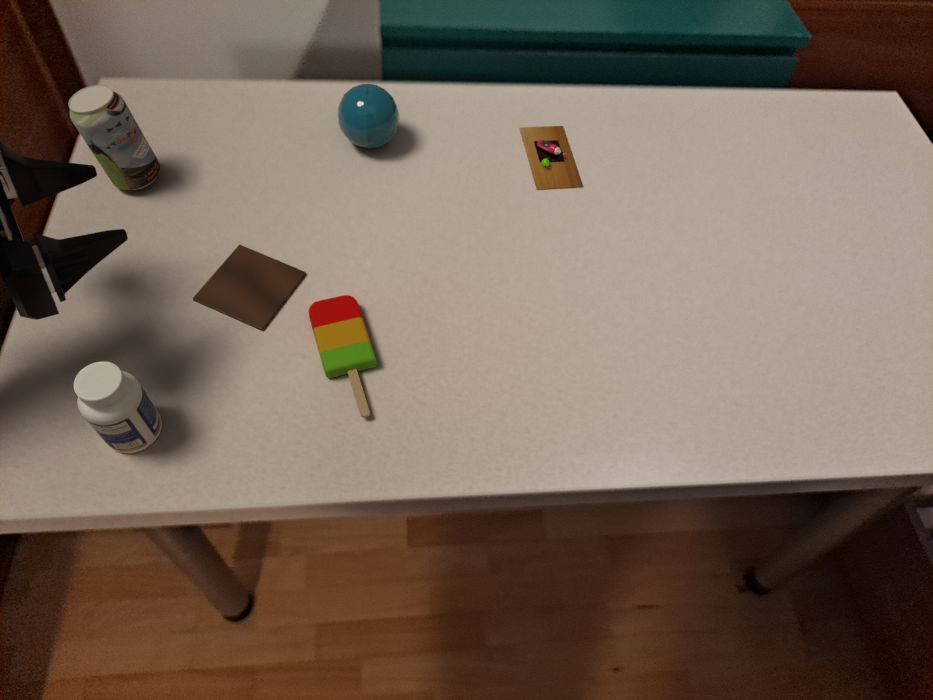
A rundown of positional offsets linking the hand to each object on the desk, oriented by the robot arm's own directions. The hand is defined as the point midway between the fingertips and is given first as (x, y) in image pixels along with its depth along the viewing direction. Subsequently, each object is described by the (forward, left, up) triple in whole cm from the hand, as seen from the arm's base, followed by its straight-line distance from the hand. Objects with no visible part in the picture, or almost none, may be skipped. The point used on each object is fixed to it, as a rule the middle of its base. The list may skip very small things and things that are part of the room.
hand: (110, 201), depth 64 cm
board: (+53, +5, -15) cm, 55 cm away
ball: (+31, +16, -15) cm, 38 cm away
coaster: (+10, -2, -15) cm, 18 cm away
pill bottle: (-5, -16, -15) cm, 22 cm away
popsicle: (+17, -16, -15) cm, 27 cm away
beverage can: (+1, +19, -15) cm, 25 cm away
